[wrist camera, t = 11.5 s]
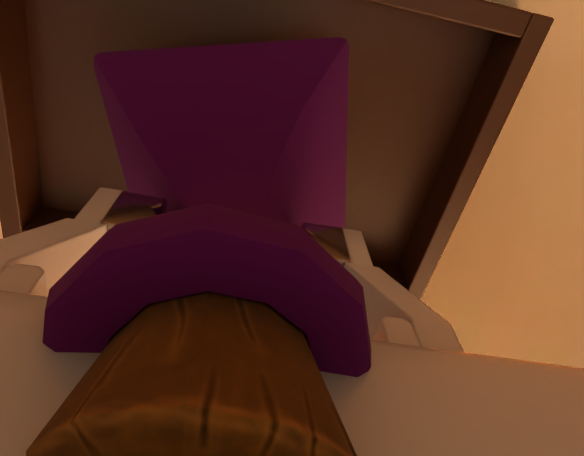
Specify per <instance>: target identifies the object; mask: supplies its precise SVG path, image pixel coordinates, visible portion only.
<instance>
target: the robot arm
mask: <svg viewBox="0 0 584 456" xmlns="http://www.w3.org/2000/svg"><path fill="white" fill-rule="evenodd" d="M163 213H167V200H166V199H165V198H159V197H154V196H149V195H143V194H138V193H133V192H127V191H123V190H118V189H111V188H104V187H101V188H99V189H98V190H97V191H96V193H95V194H94V195H93V196H92V197H91V199H90V200H89V201H88V202H87V203H86V205H85V206H84V207H83V208H82V210H81V211H80V212H79V213H78V214H77V216H76V217H75V218H74V219H70V218H65V219H62V220H59V221H56V222H53V223H50V224H47V225H44V226H40V227H37V228H34V229H31V230H28V231H25V232H22V233H19V234H15V235H12V236H9V237H6V238H3V239H0V456H26V450H27V449H28V448H29V446H30V445H31V444H32V443H33V441H34V440H35V439H36V437H37V436H38V435H39V433H40V432H41V431H42V429H43V428H44V427H45V426H46V424H47V423H48V422H49V420H50V419H51V418H52V416H53V415H54V414H55V412H56V411H57V410H58V409H59V407H60V406H61V405H62V403H63V402H64V401H65V399H66V398H67V397H68V396H69V394H70V393H71V392H72V390H73V389H74V388H75V386H76V385H77V384H78V382H79V381H80V380H81V379H82V377H83V376H84V375H85V373H86V372H87V371H88V369H89V368H90V367H91V365H92V364H93V363H94V362H95V360H96V359H97V358H98V356H99V355H100V354H101V353H73V352H54V351H53V350H51V349H50V348H49V347H47V346H46V345H45V344H43V330H44V317H45V308H46V303H47V298H48V293H49V289H50V288H51V287H52V286H53V285H54V284H55V283H56V282H57V281H58V280H59V279H60V278H61V277H62V276H63V275H64V274H65V273H66V272H67V271H68V270H69V269H70V268H71V267H72V266H73V265H74V264H75V263H76V262H77V261H78V260H79V259H80V258H81V257H82V256H83V255H84V254H85V253H86V252H87V251H88V250H89V249H90V248H91V247H92V246H93V245H94V244H95V243H96V242H97V241H98V240H99V239H100V238H101V237H102V236H103V235H104V234H105V233H106V232H107V231H108V230H109V229H111V228H112V227H113V226H115V225H116V224H119V223H124V222H128V221H133V220H137V219H141V218H146V217H150V216H154V215H159V214H163ZM301 228H303V229H304V230H305V231H306V232H307V233H308V234H309V235H310V236H311V237H312V238H313V239H314V240H315V241H316V242H318V243H319V244H320V245H321V246H322V247H323V248H324V249H325V250H326V251H327V252H328V253H329V254H330V255H331V256H332V257H334V258H335V259H336V260H337V261H338V262H339V263H340V264H341V265H342V266H343V267H344V268H345V269H346V270H347V271H349V272H350V273H351V274H352V275H353V276H354V277H355V278H356V279H357V280H358V282H359V283H360V284H361V285H362V286H363V291H364V298H365V306H366V313H367V321H368V328H369V336H370V343H371V368H370V369H369V371H368V372H366V373H364V374H363V375H361V376H359V377H353V376H346V375H340V374H334V373H328V372H321V371H320V373H321V375H322V377H323V380H324V382H325V384H326V387H327V389H328V391H329V393H330V396H331V398H332V400H333V402H334V405H335V407H336V409H337V412H338V414H339V416H340V418H341V421H342V423H343V425H344V427H345V430H346V432H347V434H348V436H349V439H350V441H351V443H352V446H353V448H354V450H355V452H356V455H357V456H584V369H583V368H576V367H569V366H561V365H554V364H546V363H539V362H531V361H524V360H516V359H509V358H502V357H494V356H487V355H479V354H472V353H464V350H463V348H462V346H461V344H460V342H459V340H458V338H457V336H456V334H455V332H454V330H453V328H452V326H451V324H450V323H449V322H447V321H446V320H445V319H443V318H442V317H441V316H440V315H438V314H437V313H436V312H435V311H433V310H432V309H431V308H430V307H428V306H427V305H426V304H425V303H423V302H422V301H421V300H419V299H418V298H417V297H416V296H414V295H413V294H412V293H411V292H409V291H408V290H407V289H406V288H404V287H403V286H402V285H401V284H399V283H398V282H397V281H396V280H394V279H393V278H392V277H390V276H389V275H388V274H387V273H385V272H384V271H383V270H382V269H380V268H379V267H374V266H373V264H372V261H371V258H370V255H369V252H368V249H367V246H366V243H365V240H364V237H363V234H362V232H361V231H360V230H354V229H346V228H341V227H334V226H327V225H320V224H313V223H306V222H303V223H302V225H301Z"/></svg>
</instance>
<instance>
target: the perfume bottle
mask: <svg viewBox="0 0 584 456" xmlns="http://www.w3.org/2000/svg"><path fill="white" fill-rule="evenodd" d="M93 66H94V70H95V73H96V77H97V81H98V84H99V88H100V91H101V95H102V99H103V102H104V106H105V109H106V113H107V117H108V120H109V124H110V127H111V131H112V135H113V138H114V142H115V146H116V149H117V153H118V156H119V160H120V164H121V167H122V171H123V174H124V178H125V182H126V185H127V189H128V192H133V193H138V194H143V195H149V196H154V197H159V198H165V199H166V200H167V213H163V214H159V215H154V216H150V217H146V218H141V219H137V220H133V221H128V222H124V223H119V224H116V225H115V226H113V227H112V228H111V229H109V230H108V231H107V232H106V233H105V234H104V235H103V236H102V237H101V238H100V239H99V240H98V241H97V242H96V243H95V244H94V245H93V246H92V247H91V248H90V249H89V250H88V251H87V252H86V253H85V254H84V255H83V256H82V257H81V258H80V259H79V260H78V261H77V262H76V263H75V264H74V265H73V266H72V267H71V268H70V269H69V270H68V271H67V272H66V273H65V274H64V275H63V276H62V277H61V278H60V279H59V280H58V281H57V282H56V283H55V284H54V285H53V286H52V287H51V288H50V289H49V293H48V298H47V303H46V308H45V317H44V330H43V344H45V345H46V346H47V347H49V348H50V349H51V350H53V351H54V352H73V353H101V354H100V355H99V356H98V358H97V359H96V360H95V362H94V363H93V364H92V365H91V367H90V368H89V369H88V371H87V372H86V373H85V375H84V376H83V377H82V379H81V380H80V381H79V382H78V384H77V385H76V386H75V388H74V389H73V390H72V392H71V393H70V394H69V396H68V397H67V398H66V399H65V401H64V402H63V403H62V405H61V406H60V407H59V409H58V410H57V411H56V412H55V414H54V415H53V416H52V418H51V419H50V420H49V422H48V423H47V424H46V426H45V427H44V428H43V429H42V431H41V432H40V433H39V435H38V436H37V437H36V439H35V440H34V441H33V443H32V444H31V445H30V446H29V448H28V449H27V450H26V456H357V455H356V452H355V450H354V448H353V446H352V443H351V441H350V439H349V436H348V434H347V432H346V430H345V427H344V425H343V423H342V421H341V418H340V416H339V414H338V412H337V409H336V407H335V405H334V402H333V400H332V398H331V396H330V393H329V391H328V389H327V387H326V384H325V382H324V380H323V377H322V375H321V373H320V371H321V372H328V373H334V374H340V375H346V376H353V377H359V376H361V375H363V374H364V373H366V372H368V371H369V369H370V368H371V343H370V336H369V328H368V321H367V313H366V306H365V298H364V291H363V286H362V285H361V284H360V283H359V282H358V280H357V279H356V278H355V277H354V276H353V275H352V274H351V273H350V272H349V271H347V270H346V269H345V268H344V267H343V266H342V265H341V264H340V263H339V262H338V261H337V260H336V259H335V258H334V257H332V256H331V255H330V254H329V253H328V252H327V251H326V250H325V249H324V248H323V247H322V246H321V245H320V244H319V243H318V242H316V241H315V240H314V239H313V238H312V237H311V236H310V235H309V234H308V233H307V232H306V231H305V230H304V229H303V228H301V225H302V223H303V222H306V223H313V224H320V225H327V226H334V227H341V228H345V209H346V167H347V125H348V82H349V44H348V41H347V39H345V38H342V37H331V38H315V39H300V40H284V41H268V42H253V43H237V44H221V45H206V46H190V47H174V48H159V49H143V50H128V51H112V52H100V53H98V54H96V55H94V61H93Z"/></svg>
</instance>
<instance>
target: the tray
mask: <svg viewBox="0 0 584 456" xmlns="http://www.w3.org/2000/svg"><path fill="white" fill-rule="evenodd" d="M553 21H554V19H553V18H551V17H547V16H543V15H540V14H536V13H530V12H528V11H524V10H520V9H516V8H512V7H508V6H504V5H500V4H496V3H493V2H489V1H485V0H0V221H1V227H2V233H3V238H6V237H9V236H12V235H15V234H19V233H22V232H25V231H28V230H31V229H34V228H37V227H40V226H44V225H47V224H50V223H53V222H56V221H59V220H62V219H65V218H70V219H74V218H75V217H76V216H77V214H78V213H79V212H80V211H81V210H82V208H83V207H84V206H85V205H86V203H87V202H88V201H89V200H90V199H91V197H92V196H93V195H94V194H95V193H96V191H97V190H98V189H99V188H101V187H104V188H111V189H118V190H123V191H127V192H128V189H127V185H126V182H125V178H124V174H123V171H122V167H121V164H120V160H119V156H118V153H117V149H116V146H115V142H114V138H113V135H112V131H111V127H110V124H109V120H108V117H107V113H106V109H105V106H104V102H103V99H102V95H101V91H100V88H99V84H98V81H97V77H96V73H95V70H94V66H93V61H94V55H96V54H98V53H100V52H112V51H128V50H143V49H159V48H174V47H190V46H206V45H221V44H237V43H253V42H268V41H284V40H300V39H315V38H331V37H342V38H345V39H347V41H348V44H349V82H348V125H347V167H346V209H345V228H346V229H354V230H360V231H361V232H362V234H363V237H364V240H365V243H366V246H367V249H368V252H369V255H370V258H371V261H372V264H373V266H374V267H379V268H380V269H382V270H383V271H384V272H385V273H387V274H388V275H389V276H390V277H392V278H393V279H394V280H396V281H397V282H398V283H399V284H401V285H402V286H403V287H404V288H406V289H407V290H408V291H409V292H411V293H412V294H413V295H414V296H416V297H417V298H418V299H419V300H420V299H421V297H422V295H423V293H424V290H425V288H426V286H427V284H428V282H429V280H430V278H431V276H432V274H433V272H434V270H435V267H436V265H437V263H438V261H439V259H440V257H441V255H442V253H443V251H444V249H445V247H446V244H447V242H448V240H449V238H450V236H451V234H452V232H453V230H454V228H455V226H456V224H457V221H458V219H459V217H460V215H461V213H462V211H463V209H464V207H465V205H466V203H467V201H468V198H469V196H470V194H471V192H472V190H473V188H474V186H475V184H476V182H477V180H478V178H479V175H480V173H481V171H482V169H483V167H484V165H485V163H486V161H487V159H488V157H489V155H490V152H491V150H492V148H493V146H494V144H495V142H496V140H497V138H498V136H499V134H500V132H501V129H502V127H503V125H504V123H505V121H506V119H507V117H508V115H509V113H510V111H511V109H512V106H513V104H514V102H515V100H516V98H517V96H518V94H519V92H520V90H521V88H522V86H523V83H524V81H525V79H526V77H527V75H528V73H529V71H530V69H531V67H532V65H533V63H534V60H535V58H536V56H537V54H538V52H539V50H540V48H541V46H542V44H543V42H544V40H545V37H546V35H547V33H548V31H549V29H550V27H551V25H552V23H553Z"/></svg>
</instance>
